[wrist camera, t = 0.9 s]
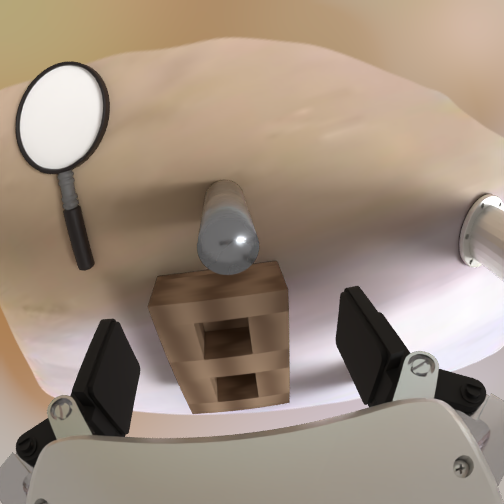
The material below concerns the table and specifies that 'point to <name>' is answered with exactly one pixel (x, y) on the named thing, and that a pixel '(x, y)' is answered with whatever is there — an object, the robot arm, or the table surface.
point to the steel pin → (226, 230)
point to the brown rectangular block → (226, 336)
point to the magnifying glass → (64, 135)
